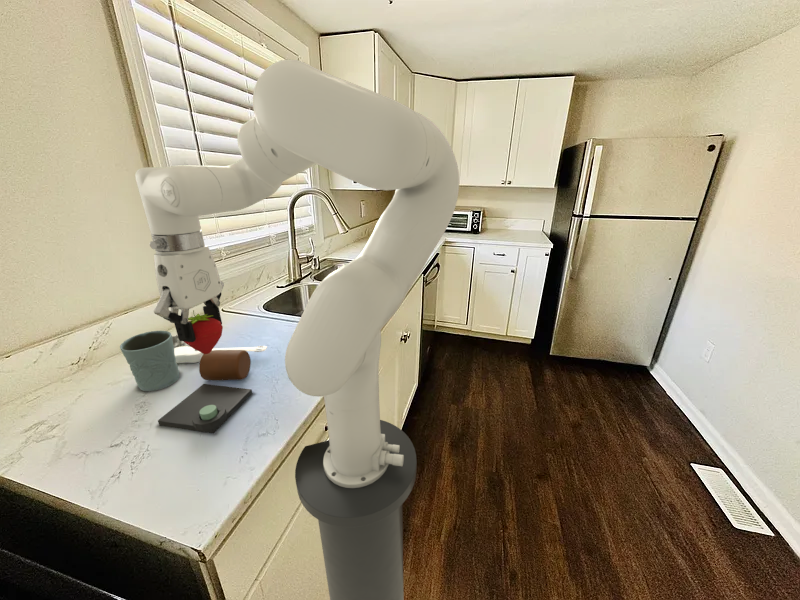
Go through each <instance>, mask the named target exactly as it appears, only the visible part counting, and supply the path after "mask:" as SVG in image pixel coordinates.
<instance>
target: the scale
mask: <svg viewBox="0 0 800 600" xmlns="http://www.w3.org/2000/svg"><path fill="white" fill-rule="evenodd" d="M252 395H253V389H251V388H245V387H244V388H243V387H234V386H228V385H227V386H226V385H219V384H211V383H203V384H201V385H200V386H199V387H198V388H196V389H195V390H193V392H192V393H191V394H189V395H188V396H187V397H186V398H184V399H182V401H180V402H179V403H178V404H177V405H175V406H174V407H173V408H171V409H170V410H169V411H167V412H166V413H165V414H164V415H163V416H161V418H159V419H157V423H158V426H159V427H164V428H165V427H166V428H173V429H179V430H186V431H192V432H197V433H207V434H213V435H214V434H215V433H216V432H217V431H218V430H219V429H221V427H223V425H224V424H225V423H226V422H227V421H228V420H229V419H230V418H231V417H232V416H233V415H234V414H235V413H236V412H237V411H238V410H239V409H240V407H241V406H243V405H244V403H246V402H247V401H248V399H249V398H251V396H252ZM208 405H215V406H216V408H217V412H218V414H217V416H215V417H214V418H212V419H209V420H202V419H201V416H200V413H199V412H200V410H201V409H202V408H203V407H205V406H208Z"/></svg>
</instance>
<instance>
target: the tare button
mask: <svg viewBox="0 0 800 600" xmlns="http://www.w3.org/2000/svg"><path fill="white" fill-rule="evenodd" d="M199 413H200V416H201V419H202V420H209V419H212V418H214V417H215V416H217V414H218V412H217V408H216V406H215V405H208V406H205V407H203V408H202V409H201V410H200V412H199Z"/></svg>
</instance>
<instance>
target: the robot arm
mask: <svg viewBox="0 0 800 600" xmlns="http://www.w3.org/2000/svg"><path fill="white" fill-rule="evenodd" d="M252 109H253V113H254V117H252V118H250V119H249V120H248V121H246V122H245V123H243V124H242V125H241V126H240V127H239V130H238V132H237V139H236V141H237V147H238V151H239V153H240V156H241V157H242V158H240V159H239V160H237V161H235V162H234V163H231V164H229V165H192V164H191V165H189V164H188V165H187V164H185V165H181V164H180V165H170V166H166V167H165V166H163V167H162V166H160V167H159V166H158V167H157V166H156V167H155V166H152V167H149V166H148V167H147V166H146V167H141V168H138V169H137V170H136V171H135V173H134V174H135V175H134V178H135V179H134V180H135V182H136V186H137V190H138V193H139V198H140V200H141V205H142V207H143V211H144V215H145V218H146V223H147V225H148V228H149V233H150V236H151V240H152V241H150V242H149V247H150V248H151V249H152V250H154V251H155V253H154V254H153V261H154V263H153V264H154V273H155V279H156V284H157V290H158V293H159V296H160V297H159V299H158V302H157V303H156V305H155V307H154V310H153V313H154V314H155V315H157V316H159V317H161V318H163V319H164V320H166V321H168V322H170V323H171V324H174V328H175V332H176V335H178V338H179V340H180V341H182V342H184V341H185V342H194V341H195V340H196V337H195V333H194V330H193V326H192V323H191V322H188V321H189V320H188V318H189V314H190V310H191V309H193V308H196V307H198V306H199V305H202V304H204V306H202V310H203V315H205V314H208V315H206V316H210V315H213V316H211V317H208V318H214V319H216V320H218V321H220V322H221V324H222V325H223V321H222V316H221V312H220V308H219V307H220V305H221V301H220V299H221V297H222V291H223V289H224V287H225V286H224V285H225V283H224V282H223V280H221V278H220V275H219V271H218V267H217V265H216V261H215V258H214V256H213V254H212V252H211V249H210V248H209V246H208V245H207V244H205V240H204V235H203V231H202V227H201V222H200V218H199V217H200V216H208V215H209V216H210V215H213V214H222V213H228V212H238V211H241V210H244V209H247V208H249V207H252V206H253V205H255V204H257V203H260V202H262V201H264V200H265V199H267V198H269V197H270V196H272V195H274V194H275V193H276V192H277V191H278V190H279V189H280V188H281V187H282V184H283V183H284V182H285V181H287V180H289V179H291V178H293V177H294V176H297V175H298V174H301V173H302V172H304V171H306V170H308V169H310V168H312V167H315V166H316V165H318V166H319V167H321V168H324V169H326V170H328V171H331V172H333V173H334V174H336V175H340V176H342V177H343V178H346V179H348V180H351V181H352V182H354V183H357V184H359V185H362V186H364V187H368V188H371V189H374V190H379V191H394V190H395V191H394V194H393V196H392V198H391V201H390V202H389V204H388V205H387V207H386V208H385V209H384V210H383V212H382V214H381V215H380V217H379V218H378V220H377V222H376V224H375V226H374V228H373V230H372V232H371V234H370V236H369V238H368V240H367V241H366V243H365V245H364V247H363V248H362V250H361V251H360V253H359V254H358V255H357V256H356V257H355V258H354V259H352V260H351V261H350V262H348V263H346V264H344V265H342V266H340V267H339V268H336V269H335V270H333V271H331V272H330V273H329V274H328V275H326V276H325V277H324V278H323V279H322V280H321V281H320V282H319V283H318V284H317V286H316V287H315V289H314V291H313V292H312V294H311V295H310V297H309V299H308V301H307V303H306V306H305V308H304V310H303V312H302V314H301V317H300V318H299V320H298V323H297V324H296V326H295V328H294V331H293V333H292V335H291V337H290V339H289V340H288V341H289V342H288V343H287V347H286V350H285V355H284V365H285V371H286V374H287V377H288V379H289V381H290V382H291V384H292V385H293V387H294V388H296V389H297V390H298V391H299V392H301V393H303V394H305V395H307V396H311V397H323V399H324V407H325V416H326V426H327V433H328V434H327V435H328V440H329V443H330V446H329V447H328V448H327V450H326V452H325V454H324V459H323V465H324V471H325V473H326V476H327V477H328V478H329V479H330V480H331V481H332V482H333V483H335V484H337V485H339V486H341V487H345V488H360V487H363V486H367V485H369V484H371V483H373V482H375V481H376V480H378V479H379V478H380V477H381V476H382V475H383V474H384V472H385V471H386V469H387V467H388V465H389V464H392V465H395V466H401V467H402V466H403V461H404V455H400V454H390V453H389V451H391V452H395V453H399V449H400V445H391V444H388V442H385V434H381V431H380V420H381V411H380V381H379V377H380V376H379V374H380V373H379V367H380V355H381V347H382V330H383V328H384V327H385V326H386V324H387V323H389V321H390V320H391V319H392V318H393V317H394V315H396V313H397V311H398V310H399V309H400V308H401V306H402V305H403V303H404V300H405V299H406V296H407V294H408V293H409V291H410V289H411V287H412V285H413V284H414V283H415V281H416V280H417V278H418V276H419V275H420V273H421V271H422V270H423V268H424V267H425V266H426V265H427V263H428V260H429V259H430V257H431V255H432V254H433V252H434V251H435V249H436V247H437V245H438V244H439V243H440V240H441V239H442V237H443V236H444V234H445V232H446V230H447V228H448V226H449V225H450V223H451V220H452V218H453V215H454V213H455V210H456V206H457V202H458V199H459V198H458V197H459V192H460V191H459V190H460V173H459V166H458V162H457V158H456V156H455V153H454V151H453V148H452V145H450V142H449V141H448V139H447V137H446V136H445V134H444V133H443V132H442V130H441V129H440V127H439V126H437V125H436V124H435V122H433V121H432V120H430V119H429V118H427V117H426V116H425V115H423V114H421V113H420V112H418V111H415V110H414V109H412V108H411V107H409V106H408V105H405V104H403V103H402V102H399V101H398V100H395V99H394V98H391V97H389V96H386V95H383V94H382V93H378V92H376V91H373V90H371V89H368V88H365V87H363V86H360V85H358V84H356V83H354V82H350V81H348V80H345V79H343V78H341V77H338V76H335V75H334V74H331V73H328V72H326V71H323V70H321V69H319V68H317V67H315V66H313V65H311V64H309V63H306V62H305V61H302V60H299V59H291V58H290V59H289V58H288V59H282V60H278V61H275V62H273V63H272V64H270V65H269V66H268V67H266V68H265V69H264V71H263V72H261V74H260V76H259V77H258V78H257V80H256V82H255V84H254V89H253V94H252ZM179 310H180V314H179Z"/></svg>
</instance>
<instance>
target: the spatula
mask: <svg viewBox="0 0 800 600" xmlns="http://www.w3.org/2000/svg"><path fill="white" fill-rule="evenodd" d="M267 349H268V346H266V345H258V346H246V347H245V346H241V347H214V348H213V349H212V350H245V351H247V352H254V353H263V352H266V350H267ZM174 354H175V358H176V364H186V363H191V364H193V363H200V360H201V358H202V356H203V353H201V352H200V351H198V350H196V349H193V348H192V347H190V346H189V345H188V346H187V345H185V346H180V347H176V348H174Z"/></svg>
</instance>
